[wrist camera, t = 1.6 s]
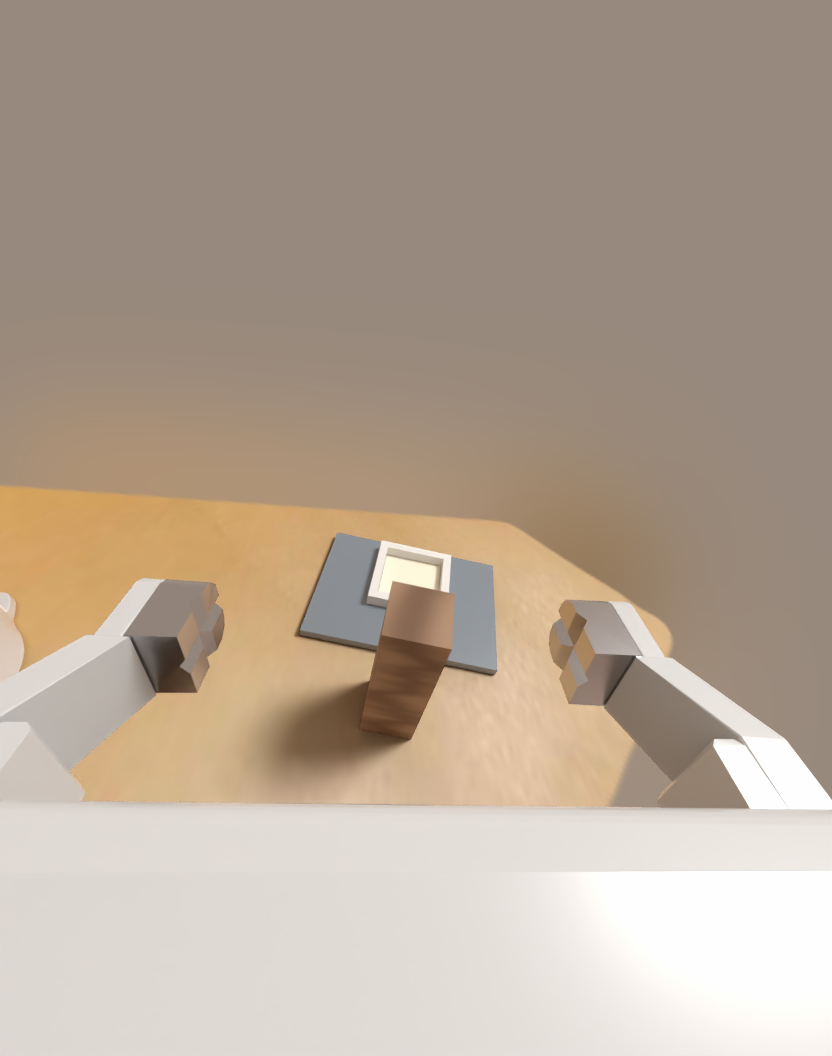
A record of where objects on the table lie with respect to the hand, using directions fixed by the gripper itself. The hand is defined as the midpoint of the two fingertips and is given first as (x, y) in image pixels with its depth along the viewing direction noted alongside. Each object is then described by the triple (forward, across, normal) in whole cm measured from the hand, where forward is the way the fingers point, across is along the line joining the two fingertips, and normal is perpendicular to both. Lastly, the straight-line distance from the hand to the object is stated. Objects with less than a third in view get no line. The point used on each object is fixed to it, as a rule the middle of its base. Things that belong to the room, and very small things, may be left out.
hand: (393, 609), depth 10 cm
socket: (+32, -3, +29) cm, 43 cm away
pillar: (+16, -1, +31) cm, 35 cm away
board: (+30, -3, +29) cm, 42 cm away
